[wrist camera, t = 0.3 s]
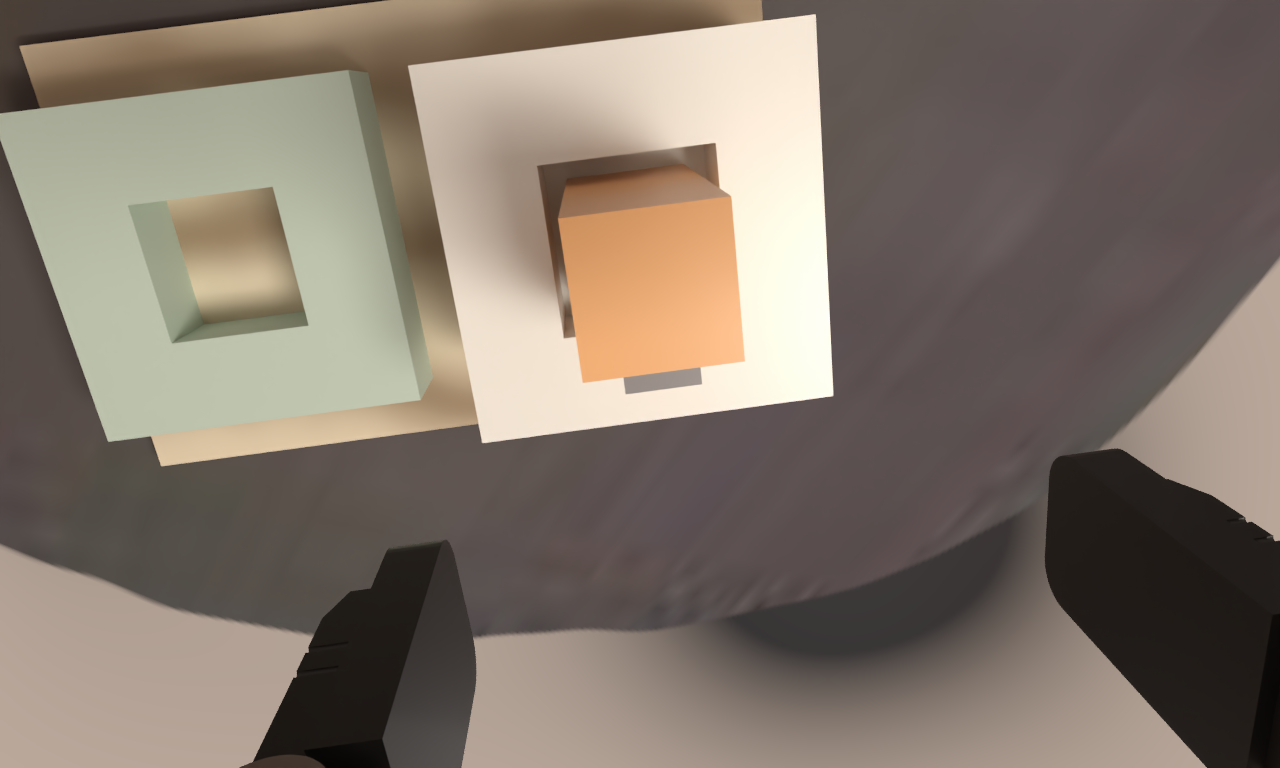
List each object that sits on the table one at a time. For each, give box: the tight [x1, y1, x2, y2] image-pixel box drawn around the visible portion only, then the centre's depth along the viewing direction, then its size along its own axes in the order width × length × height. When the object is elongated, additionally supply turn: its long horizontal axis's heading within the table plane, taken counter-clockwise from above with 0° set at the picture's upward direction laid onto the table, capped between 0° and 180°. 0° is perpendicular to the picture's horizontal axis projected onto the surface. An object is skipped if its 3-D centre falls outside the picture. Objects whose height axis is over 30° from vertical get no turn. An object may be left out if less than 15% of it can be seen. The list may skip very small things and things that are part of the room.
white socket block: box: [408, 14, 833, 443], centre depth 31 cm, size 12×12×10 cm
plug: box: [558, 164, 745, 394], centre depth 25 cm, size 5×4×10 cm
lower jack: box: [0, 70, 433, 442], centre depth 34 cm, size 13×13×3 cm
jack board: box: [19, 0, 763, 466], centre depth 36 cm, size 18×29×1 cm, turn 97°
